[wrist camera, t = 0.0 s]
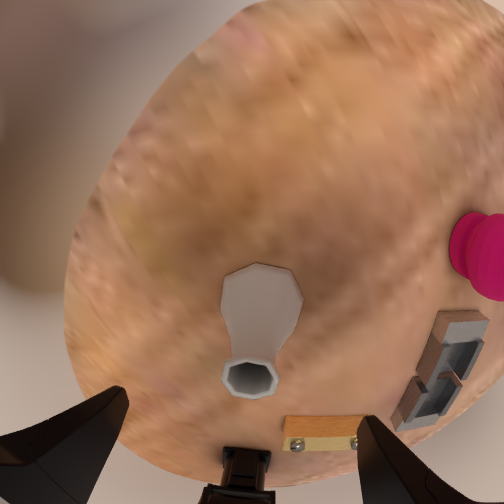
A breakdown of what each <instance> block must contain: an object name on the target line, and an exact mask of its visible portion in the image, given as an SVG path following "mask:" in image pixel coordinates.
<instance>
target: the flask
mask: <svg viewBox="0 0 504 504" xmlns="http://www.w3.org/2000/svg"><path fill="white" fill-rule="evenodd" d="M303 302H304V298H303V296H302V294H301V291H300V289H299V287H298V285H297V283H296V281H295V278H294V276H293V274H292V272H291V270H287V269H283V268H278V267H273V266H268V265H263V264H258V263H254V264H252V265H250V266H248V267H245V268H243V269H241V270H238V271H236V272H234V273H232V274H229V275H227V276H225V277H224V283H223V289H222V295H221V301H220V310H221V313H222V316H223V318H224V321H225V324H226V327H227V331H228V334H229V337H230V341H231V354H232V357H231V358H230V359H227V360H226V361H225V363H224V368H223V373H222V379H221V381H222V383H223V384H224V385H225V387H226V388H227V389H228V391H229V392H230V394H231V395H232V396H237V397H242V398H247V399H252V400H255V399H259V398H263V397H266V396H270V395H274V393H275V391H276V388H277V385H278V382H279V379H280V375H279V373H278V371H277V369H276V368H275V357H276V355H277V354H278V352H279V351H280V349H281V348H282V346H283V345H284V343H285V342H286V340H287V339H288V338H289V336H290V335H291V334H292V333H293V331H294V330H295V328H296V325H297V322H298V319H299V315H300V312H301V309H302V305H303Z"/></svg>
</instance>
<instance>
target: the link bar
mask: <svg viewBox="0 0 504 504" xmlns="http://www.w3.org/2000/svg"><path fill="white" fill-rule="evenodd" d="M364 416H366V415H353V416H286V419H285V423H284V426H283V435H282V450H283V451H293V452H300V451H330V450H347V449H353V450H357V435H356V432H357V428H358V426H359V424H360V422H361V420H362V418H363V417H364Z"/></svg>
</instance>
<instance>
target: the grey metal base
mask: <svg viewBox="0 0 504 504" xmlns="http://www.w3.org/2000/svg"><path fill="white" fill-rule="evenodd" d="M488 323H489V319H488V318H487V317H485V316H484V315H483V314H482V313H481V312H479V311H439V312H438V315H437V318H436V321H435V323H434V326H433V329H432V332H431V335H430V337H429V340H428V342H427V345H426V347H425V350H424V352H423V355H422V357H421V359H420V362H419V364H418V366H417V369H416V371H417V373H418V375H419V376H417V377H412V379H411V381H410V384H409V386H408V388H407V390H406V392H405V394H404V395H403V397H402V399H401V401H400V403H399V405H398V407H397V409H396V410H395V412H394V414H393V416H392V417H391V421H392V424H393V427H394V430H395V432H399V431H405V430H410V429H415V428H420V427H425V426H429V425H434V424H435V423H436V422H437V421H438V419H439V418H440V416H444V415H445V414H446V413H447V411H448V410H449V408H450V406H451V405H452V403H453V402H454V400H455V398H456V397H457V395H458V393H459V392H460V390H461V388H462V384H461V383H460V381H459V380H458V379H457V377H456V376H455V374H454V373H453V372H449V371H454V372H455V373H456V375H457V376H458V378H459V379H460V380H466V379H467V377H468V376H469V374H470V372H471V370H472V368H473V366H474V364H475V362H476V360H477V358H478V356H479V354H480V351H481V349H482V347H483V345H484V342H483V341H482V338H483V336H484V333H485V331H486V328H487V326H488ZM442 372H447V373H442ZM439 373H440V374H439Z"/></svg>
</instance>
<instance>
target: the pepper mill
mask: <svg viewBox="0 0 504 504" xmlns="http://www.w3.org/2000/svg"><path fill="white" fill-rule="evenodd" d="M449 251H450V259H451V263H452V265H453V267H454V269H455V270H456V271H457V272H458V273H459V274H461V275H462V276H464V277H465V278H467V279H469V280H470V282H471V284H472V286H473V288H474V289H475V290H476V291H477V292H478V293H480V294H481V295H483V296H485V297H486V298H488V299H492V300H496V301H504V214H493V215H491V216H487V215H483V214H480V213H476V212H472V213H469V214H467V215H465V216H464V217H462V218H461V219H460V221H459V222H458V223H457V224H456V226H455V228H454V230H453V233H452V236H451V239H450V247H449Z"/></svg>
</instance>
